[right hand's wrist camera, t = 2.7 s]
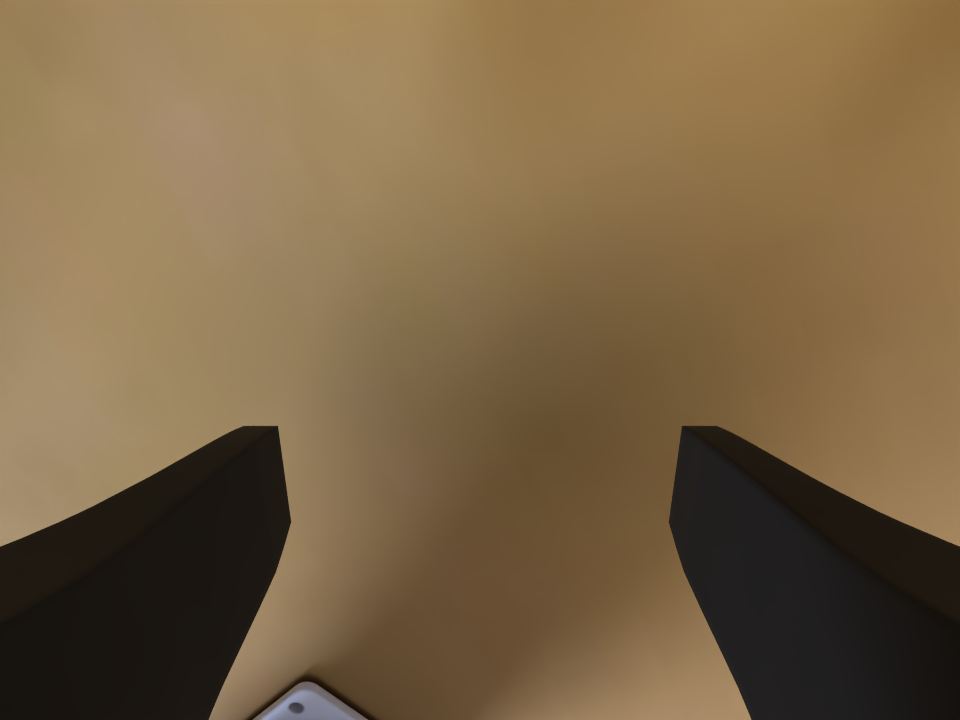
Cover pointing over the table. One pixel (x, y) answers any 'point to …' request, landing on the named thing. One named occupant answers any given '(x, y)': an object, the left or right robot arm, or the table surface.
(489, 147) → the table surface
